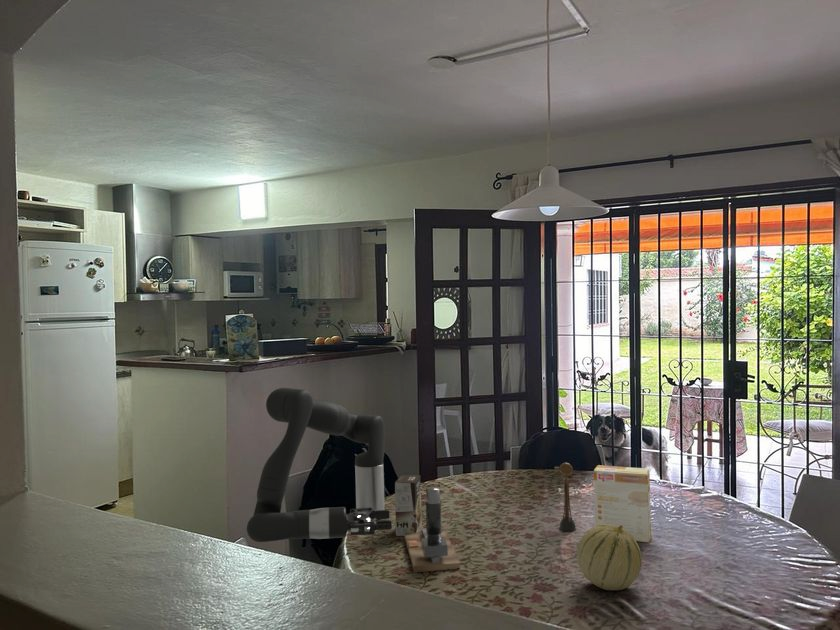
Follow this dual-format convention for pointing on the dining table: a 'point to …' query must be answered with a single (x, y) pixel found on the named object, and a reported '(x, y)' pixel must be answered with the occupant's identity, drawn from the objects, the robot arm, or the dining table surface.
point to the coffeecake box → (623, 499)
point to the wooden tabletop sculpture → (566, 499)
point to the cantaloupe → (609, 557)
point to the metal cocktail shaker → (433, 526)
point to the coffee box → (408, 504)
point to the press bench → (429, 563)
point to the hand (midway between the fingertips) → (390, 519)
